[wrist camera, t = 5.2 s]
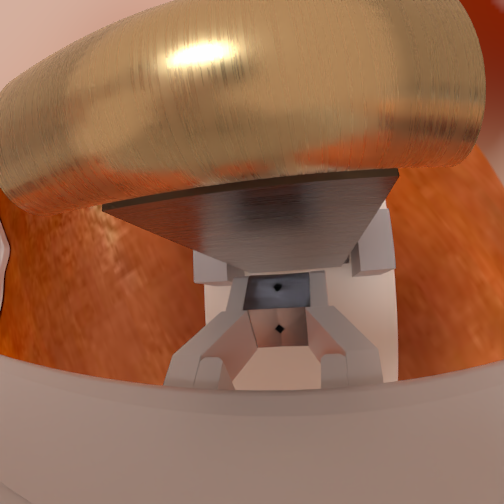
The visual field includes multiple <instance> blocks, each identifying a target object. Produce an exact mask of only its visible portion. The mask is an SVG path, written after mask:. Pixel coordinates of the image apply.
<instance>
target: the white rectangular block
mask: <svg viewBox="0 0 504 504" xmlns="http://www.w3.org/2000/svg"><path fill="white" fill-rule="evenodd" d="M193 267H194V283H198V284H204V295H205V318H206V325H207V324H208V323H209V322H210V321H211V320H212V319H213V318H214V317H216V316H217V315H218V314H219V313H220V312H221V311H226V306H227V302H228V298H229V294H230V289H231V285H232V281H233V279H234V277H235V276H250V275H273V274H289V273H302V272H309V273H310V271H320V270H324V271H325V273H326V282H327V292H328V303H329V306H334V307H335V308H336V309H337V310H338V311H339V312H341V313H342V314H343V315H344V316H345V317H346V318H347V319H348V320H349V321H350V322H351V323H352V324H353V325H354V326H355V327H356V328H357V329H358V330H359V331H360V332H361V333H362V334H363V335H364V336H365V337H366V338H367V339H368V340H369V341H370V342H371V343H373V344H374V345H375V346H376V347H377V348H378V351H379V357H380V363H381V369H382V375H383V382H384V383H387V382H394V381H398V324H397V302H396V287H395V275H394V269H395V268H396V262H395V253H394V244H393V236H392V228H391V221H390V214H389V209H387V208H386V201H385V200H384V202H383V203H382V205H381V207H380V208H379V210H378V211H377V213H376V215H375V216H374V218H373V219H372V221H371V222H370V224H369V225H368V227H367V229H366V230H365V232H364V233H363V235H362V236H361V238H360V239H359V241H358V242H357V244H356V245H355V247H354V248H353V250H352V251H351V253H350V254H349V263H347V264H342V266H341V267H330V268H317V269H304V270H291V271H277V272H263V273H249V272H246V271H243V270H241V269H239V268H236V267H234V266H231V265H229V264H227V263H224V262H222V261H219V260H217V259H214V258H212V257H209V256H207V255H205V254H202V253H200V252H197V251H195V250H193ZM309 276H310V274H309ZM232 383H233V385H234V388H235V390H304V389H321V363H320V362H319V361H318V359H317V358H316V356H315V355H314V354H313V352H312V351H311V350H310V348H309V346H281V347H264V348H257V351H256V352H255V353H254V355H253V356H252V357H251V358H250V360H249V361H248V362H247V364H246V365H245V366H244V367H243V369H242V370H241V371H240V372H239V374H238V375H237V376H236V377H235V379H234V380H233V381H232Z"/></svg>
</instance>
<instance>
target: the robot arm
mask: <svg viewBox="0 0 504 504" xmlns="http://www.w3.org/2000/svg"><path fill="white" fill-rule="evenodd" d="M9 253H10V247H9V244H8V241H7V238H6V235H5V233H4V230H3V227H2V224H1V221H0V310H1V304H2V297H3V284H4V273H5V269H6V265H7V262H8V258H9ZM309 274H310V276H309ZM281 346H309V348H310V350H311V351H312V352H313V354H314V355H315V356H316V358H317V359H318V361H319V362H320V363H321V389H304V390H235V388H234V385H233V383H232V381H233V380H234V379H235V377H236V376H237V375H238V374H239V372H240V371H241V370H242V369H243V367H244V366H245V365H246V364H247V362H248V361H249V360H250V358H251V357H252V356H253V355H254V353H255V352H256V351H257V348H264V347H281ZM0 504H504V360H500V361H497V362H493V363H489V364H485V365H481V366H476V367H472V368H468V369H463V370H458V371H454V372H449V373H444V374H438V375H433V376H427V377H421V378H415V379H408V380H402V381H394V382H387V383H384V382H383V375H382V369H381V363H380V357H379V351H378V348H377V347H376V346H375V345H374V344H373V343H371V342H370V341H369V340H368V339H367V338H366V337H365V336H364V335H363V334H362V333H361V332H360V331H359V330H358V329H357V328H356V327H355V326H354V325H353V324H352V323H351V322H350V321H349V320H348V319H347V318H346V317H345V316H344V315H343V314H342V313H341V312H339V311H338V310H337V309H336V308H335V307H334V306H329V303H328V292H327V282H326V273H325V271H324V270H320V271H310V273H309V272H302V273H289V274H273V275H250V276H235V277H234V279H233V281H232V285H231V289H230V294H229V298H228V302H227V306H226V311H221V312H220V313H219V314H218V315H217V316H216V317H214V318H213V319H212V320H211V321H210V322H209V323H208V324H207V325H206V326H204V327H203V328H202V329H201V330H200V331H199V332H198V333H197V334H196V335H194V336H193V337H192V338H191V339H190V340H189V341H188V342H187V343H186V344H184V345H183V346H182V347H181V348H180V349H179V350H178V351H177V352H175V353H174V354H173V356H172V359H171V362H170V365H169V368H168V371H167V374H166V377H165V381H164V384H163V385H153V384H144V383H136V382H128V381H121V380H114V379H108V378H101V377H95V376H90V375H84V374H79V373H74V372H69V371H64V370H59V369H54V368H50V367H45V366H41V365H37V364H33V363H29V362H25V361H21V360H17V359H14V358H10V357H7V356H4V355H0Z"/></svg>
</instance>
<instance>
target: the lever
mask: <svg viewBox="0 0 504 504" xmlns="http://www.w3.org/2000/svg"><path fill="white" fill-rule="evenodd" d="M485 94H486V82H485V69H484V62H483V56H482V52H481V48H480V44H479V40H478V37H477V35H476V32H475V29H474V26H473V24H472V22H471V20H470V18H469V16H468V14H467V12H466V10H465V9H464V7H463V6H462V4H461V3H460V1H459V0H174V1H171V2H168V3H165V4H162V5H159V6H156V7H153V8H150V9H148V10H145V11H142V12H139V13H137V14H134V15H132V16H129V17H127V18H124V19H122V20H119V21H117V22H115V23H113V24H110V25H108V26H106V27H104V28H101V29H99V30H97V31H95V32H93V33H91V34H89V35H87V36H85V37H83V38H81V39H79V40H77V41H75V42H73V43H71V44H69V45H68V46H66V47H64V48H62V49H61V50H59V51H57V52H55V53H54V54H52V55H50V56H48V57H47V58H45V59H43V60H42V61H40V62H39V63H37V64H35V65H34V66H33V67H31V68H29V69H28V70H26V71H25V72H23V73H22V74H20V75H19V76H17V77H16V78H14V79H13V80H12V81H11V82H10V83H8V84H7V85H6V86H5V87H4V88H3V90H2V91H1V92H0V187H1V189H2V191H3V192H4V193H5V195H6V196H7V197H8V198H9V199H10V200H11V201H12V202H13V203H14V204H15V205H16V206H18V207H19V208H21V209H22V210H24V211H26V212H28V213H31V214H34V215H38V216H50V215H56V214H60V213H64V212H69V211H73V210H78V209H82V208H87V207H91V206H96V205H101V204H102V211H103V212H105V213H108V214H110V215H112V216H115V217H117V218H119V219H122V220H124V221H126V222H129V223H131V224H133V225H136V226H138V227H140V228H143V229H145V230H147V231H150V232H152V233H154V234H157V235H159V236H161V237H164V238H166V239H169V240H171V241H173V242H176V243H178V244H181V245H183V246H185V247H188V248H190V249H193V250H195V251H197V252H200V253H202V254H205V255H207V256H209V257H212V258H214V259H217V260H219V261H222V262H224V263H227V264H229V265H231V266H234V267H236V268H239V269H241V270H243V271H246V272H249V273H263V272H277V271H291V270H304V269H317V268H330V267H341V266H342V264H347V263H349V254H350V253H351V251H352V250H353V248H354V247H355V245H356V244H357V242H358V241H359V239H360V238H361V236H362V235H363V233H364V232H365V230H366V229H367V227H368V225H369V224H370V222H371V221H372V219H373V218H374V216H375V215H376V213H377V211H378V210H379V208H380V207H381V205H382V203H383V202H384V200H385V199H386V197H387V195H388V194H389V192H390V191H391V189H392V187H393V186H394V184H395V182H396V181H397V179H398V177H399V172H398V168H415V167H451V166H456V165H458V164H460V163H461V162H462V161H463V160H464V159H465V158H466V157H467V156H468V155H469V153H470V152H471V150H472V148H473V146H474V145H475V143H476V140H477V138H478V135H479V132H480V129H481V125H482V120H483V115H484V108H485Z"/></svg>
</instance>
